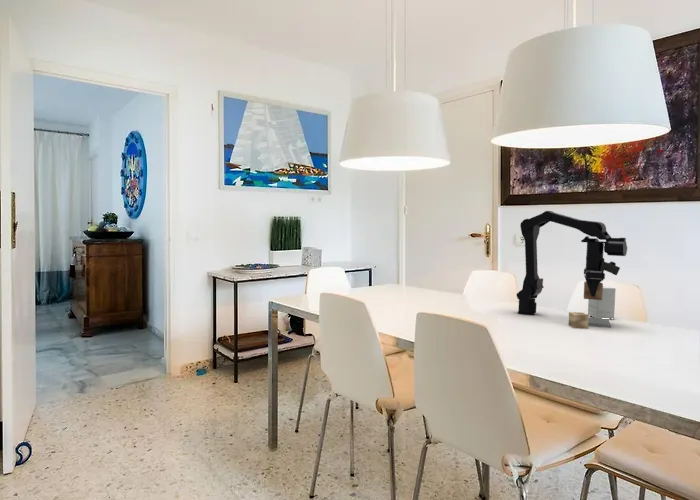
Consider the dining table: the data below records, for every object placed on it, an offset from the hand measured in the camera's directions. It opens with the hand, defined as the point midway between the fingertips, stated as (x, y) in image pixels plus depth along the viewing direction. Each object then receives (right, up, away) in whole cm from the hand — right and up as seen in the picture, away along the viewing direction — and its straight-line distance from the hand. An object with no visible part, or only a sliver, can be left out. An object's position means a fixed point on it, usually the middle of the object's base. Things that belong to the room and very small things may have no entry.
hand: (592, 295), depth 178 cm
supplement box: (+9, -11, +12) cm, 18 cm away
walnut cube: (0, -1, 0) cm, 1 cm away
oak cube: (-9, -11, -7) cm, 16 cm away
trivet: (0, -11, +1) cm, 11 cm away
